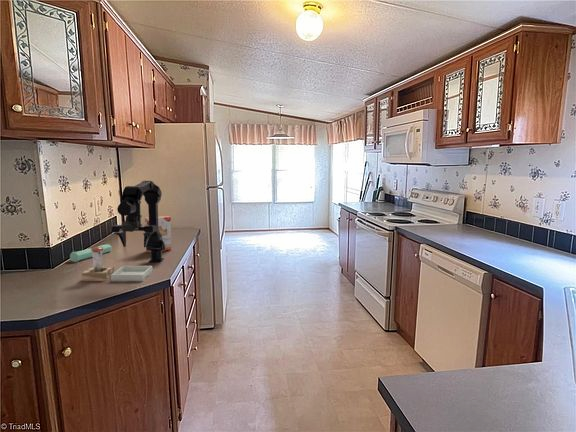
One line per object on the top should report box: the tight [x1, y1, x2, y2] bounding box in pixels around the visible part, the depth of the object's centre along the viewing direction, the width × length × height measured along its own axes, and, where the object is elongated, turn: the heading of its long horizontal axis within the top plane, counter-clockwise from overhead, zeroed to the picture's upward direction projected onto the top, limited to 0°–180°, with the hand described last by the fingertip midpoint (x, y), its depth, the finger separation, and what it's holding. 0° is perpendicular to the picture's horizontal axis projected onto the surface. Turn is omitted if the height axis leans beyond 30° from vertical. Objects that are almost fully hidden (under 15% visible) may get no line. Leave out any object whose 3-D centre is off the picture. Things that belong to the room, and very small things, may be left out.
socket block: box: [81, 266, 115, 282], centre depth 163 cm, size 10×10×4 cm
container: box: [69, 243, 113, 263], centre depth 199 cm, size 6×6×25 cm
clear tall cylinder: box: [91, 246, 104, 272], centre depth 162 cm, size 5×5×14 cm
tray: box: [110, 265, 153, 282], centre depth 165 cm, size 14×14×3 cm
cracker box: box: [144, 215, 172, 254], centre depth 212 cm, size 14×6×21 cm, turn 126°
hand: (134, 247), depth 162 cm, fingers open, 9 cm apart
